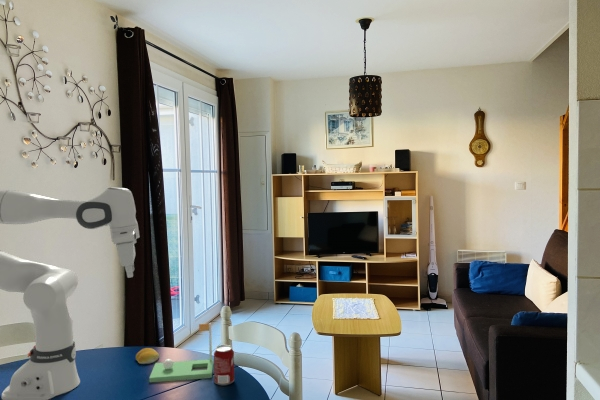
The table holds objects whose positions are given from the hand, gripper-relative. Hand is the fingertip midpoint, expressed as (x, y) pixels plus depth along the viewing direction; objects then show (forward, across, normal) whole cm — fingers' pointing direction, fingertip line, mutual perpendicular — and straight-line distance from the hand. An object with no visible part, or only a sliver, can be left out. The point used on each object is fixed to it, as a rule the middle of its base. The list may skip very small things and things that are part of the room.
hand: (131, 274), depth 147 cm
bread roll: (+38, -18, 0) cm, 42 cm away
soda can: (+41, +11, +25) cm, 49 cm away
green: (+39, -2, +12) cm, 41 cm away
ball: (+37, -3, +8) cm, 38 cm away
